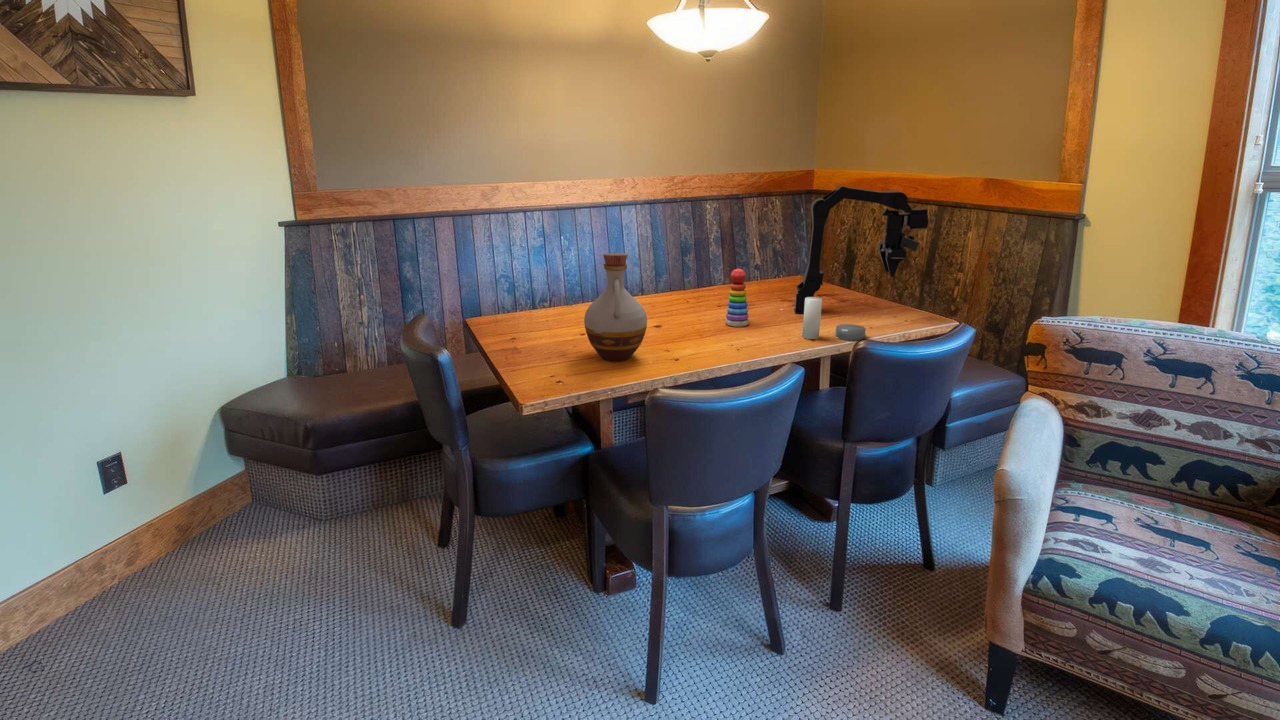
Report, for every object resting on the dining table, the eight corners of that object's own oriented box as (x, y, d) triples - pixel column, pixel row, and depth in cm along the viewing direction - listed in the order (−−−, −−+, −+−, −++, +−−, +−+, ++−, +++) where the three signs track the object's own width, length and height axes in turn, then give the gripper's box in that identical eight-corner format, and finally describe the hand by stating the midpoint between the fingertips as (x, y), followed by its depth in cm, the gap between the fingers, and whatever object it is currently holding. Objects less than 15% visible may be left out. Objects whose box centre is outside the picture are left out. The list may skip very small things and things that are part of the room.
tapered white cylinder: (802, 339, 226) (805, 300, 222) (801, 334, 231) (804, 296, 227) (819, 340, 226) (823, 300, 222) (817, 335, 231) (821, 297, 227)
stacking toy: (751, 322, 245) (753, 267, 240) (746, 328, 238) (749, 272, 232) (728, 320, 248) (730, 266, 242) (722, 326, 241) (725, 270, 235)
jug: (650, 368, 198) (651, 260, 189) (585, 370, 197) (583, 260, 188) (644, 347, 217) (644, 247, 208) (584, 348, 216) (582, 248, 206)
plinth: (837, 340, 225) (838, 331, 224) (833, 332, 234) (834, 323, 233) (867, 341, 224) (868, 332, 223) (862, 333, 233) (862, 324, 232)
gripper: (925, 233, 237) (919, 280, 242) (912, 225, 254) (908, 269, 259) (890, 232, 238) (885, 279, 243) (880, 225, 256) (875, 269, 261)
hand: (889, 274), depth 251 cm, fingers open, 9 cm apart
